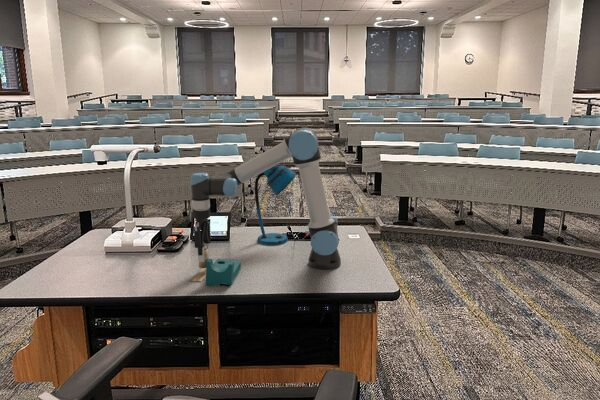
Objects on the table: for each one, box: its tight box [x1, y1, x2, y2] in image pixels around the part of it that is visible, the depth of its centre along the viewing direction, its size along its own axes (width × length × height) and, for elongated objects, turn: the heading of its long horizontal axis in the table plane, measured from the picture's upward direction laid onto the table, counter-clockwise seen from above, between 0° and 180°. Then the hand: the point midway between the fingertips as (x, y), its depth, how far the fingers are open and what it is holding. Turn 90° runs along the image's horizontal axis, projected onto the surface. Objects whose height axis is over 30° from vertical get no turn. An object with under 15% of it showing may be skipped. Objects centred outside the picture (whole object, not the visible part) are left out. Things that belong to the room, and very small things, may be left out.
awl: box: [198, 242, 210, 269], centre depth 215 cm, size 4×4×11 cm
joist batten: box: [189, 268, 206, 283], centre depth 215 cm, size 5×16×1 cm, turn 168°
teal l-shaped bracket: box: [205, 258, 242, 287], centre depth 210 cm, size 18×11×10 cm, turn 174°
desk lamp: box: [254, 164, 297, 246], centre depth 256 cm, size 16×22×45 cm
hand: (203, 259), depth 215 cm, fingers closed on awl, 4 cm apart
